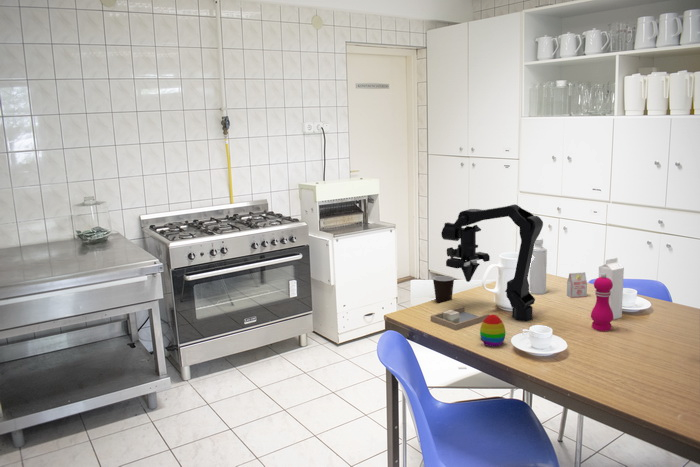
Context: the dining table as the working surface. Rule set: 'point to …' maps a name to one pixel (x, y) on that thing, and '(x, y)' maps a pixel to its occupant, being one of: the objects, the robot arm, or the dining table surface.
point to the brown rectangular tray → (464, 319)
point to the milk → (614, 285)
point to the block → (451, 316)
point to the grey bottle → (538, 269)
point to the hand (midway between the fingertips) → (468, 281)
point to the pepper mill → (602, 304)
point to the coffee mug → (443, 288)
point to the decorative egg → (492, 331)
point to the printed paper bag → (577, 285)
